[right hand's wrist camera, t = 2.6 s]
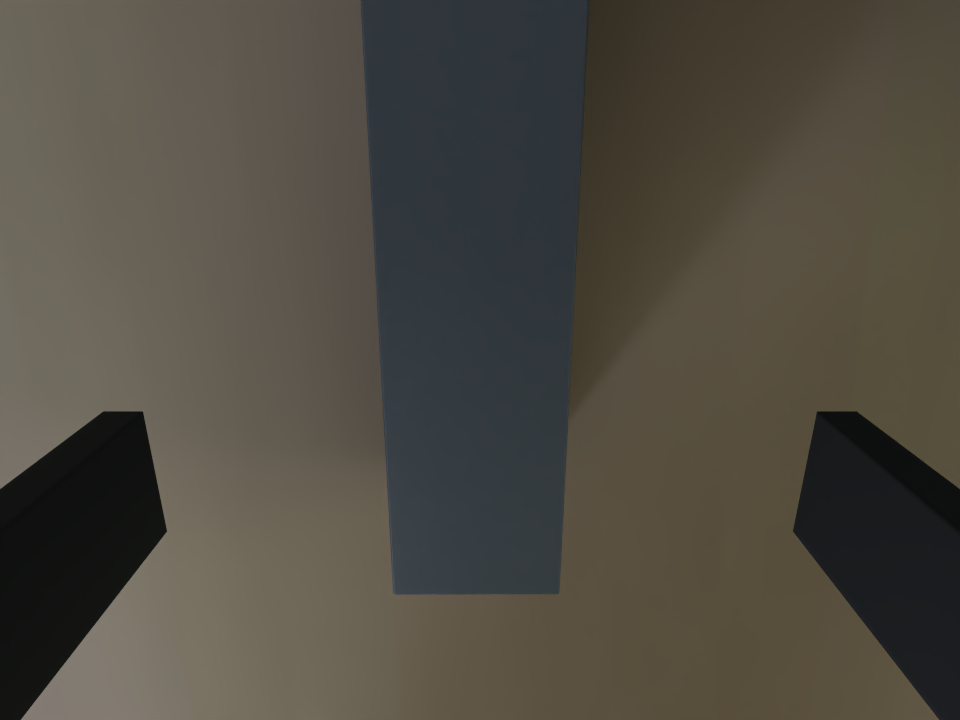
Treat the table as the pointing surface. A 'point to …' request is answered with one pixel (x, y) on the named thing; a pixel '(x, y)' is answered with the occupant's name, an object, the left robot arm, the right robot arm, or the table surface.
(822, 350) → the table surface
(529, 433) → the bar
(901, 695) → the table surface
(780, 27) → the table surface
